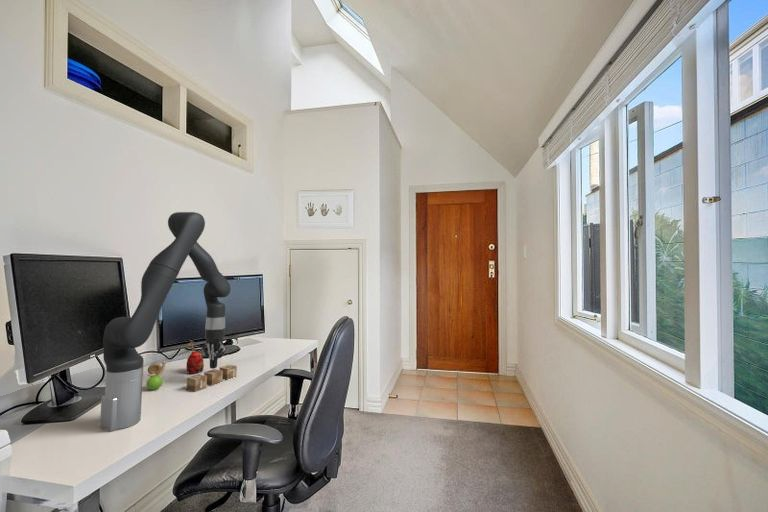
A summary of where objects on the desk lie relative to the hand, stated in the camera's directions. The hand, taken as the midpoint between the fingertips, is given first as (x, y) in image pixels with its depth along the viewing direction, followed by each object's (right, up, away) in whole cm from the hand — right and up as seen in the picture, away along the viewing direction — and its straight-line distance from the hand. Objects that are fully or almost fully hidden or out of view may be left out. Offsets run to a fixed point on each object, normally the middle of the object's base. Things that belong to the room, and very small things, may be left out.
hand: (213, 368), depth 138 cm
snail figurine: (-19, -6, -8) cm, 21 cm away
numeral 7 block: (+3, -7, +7) cm, 10 cm away
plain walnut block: (0, -7, 0) cm, 7 cm away
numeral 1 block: (-3, -6, -7) cm, 10 cm away
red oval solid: (-16, -7, +14) cm, 22 cm away
